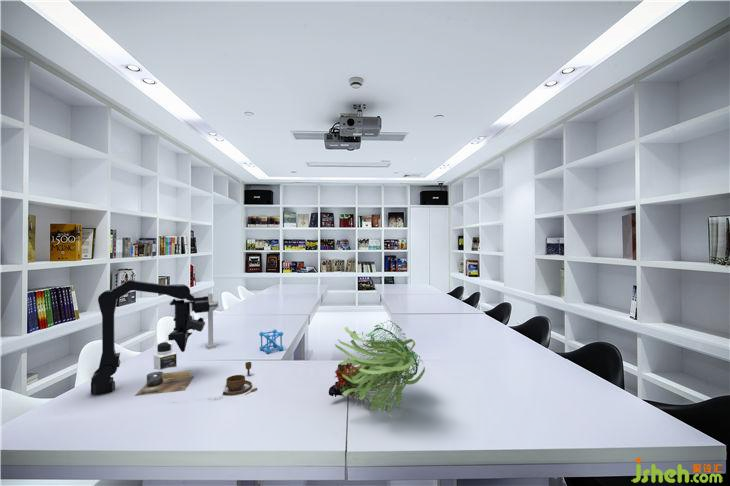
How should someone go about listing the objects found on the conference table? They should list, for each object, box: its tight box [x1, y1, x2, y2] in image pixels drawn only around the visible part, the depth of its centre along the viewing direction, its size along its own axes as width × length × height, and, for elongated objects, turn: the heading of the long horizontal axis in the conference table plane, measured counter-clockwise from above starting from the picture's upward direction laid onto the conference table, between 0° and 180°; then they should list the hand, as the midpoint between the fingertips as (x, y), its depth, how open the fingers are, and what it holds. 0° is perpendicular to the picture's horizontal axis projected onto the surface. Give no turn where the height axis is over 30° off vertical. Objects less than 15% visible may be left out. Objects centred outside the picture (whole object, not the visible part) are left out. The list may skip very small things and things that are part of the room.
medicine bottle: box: [153, 341, 178, 370], centre depth 161 cm, size 7×7×12 cm
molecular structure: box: [258, 329, 284, 354], centre depth 187 cm, size 10×10×10 cm
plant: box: [328, 319, 426, 418], centre depth 119 cm, size 35×35×40 cm
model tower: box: [205, 293, 219, 350], centre depth 194 cm, size 8×8×30 cm
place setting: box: [222, 361, 258, 396], centre depth 140 cm, size 18×20×6 cm
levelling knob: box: [146, 370, 192, 386], centre depth 140 cm, size 16×6×4 cm, turn 104°
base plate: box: [134, 375, 195, 397], centre depth 137 cm, size 17×15×3 cm
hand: (183, 351), depth 147 cm, fingers closed
